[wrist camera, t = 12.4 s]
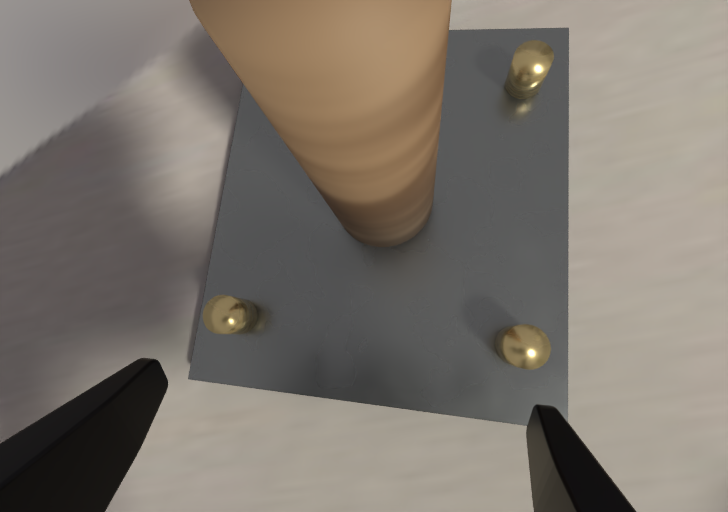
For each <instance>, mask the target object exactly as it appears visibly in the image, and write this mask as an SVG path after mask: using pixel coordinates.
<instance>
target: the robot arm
mask: <svg viewBox="0 0 728 512" xmlns="http://www.w3.org/2000/svg"><path fill="white" fill-rule="evenodd" d="M167 387H168V380H167V377H166V375H165V373H164V371H163V369H162V367H161V365H160V363H159V361H158V360H156V359H149V358H140V359H138V360H136V361H134V362H133V363H131V364H130V365H128V366H126V367H125V368H123V369H121V370H120V371H118V372H116V373H115V374H113V375H112V376H110V377H108V378H107V379H105V380H103V381H102V382H100V383H98V384H97V385H95V386H94V387H92V388H90V389H89V390H87V391H85V392H84V393H82V394H80V395H79V396H77V397H76V398H74V399H72V400H71V401H69V402H67V403H66V404H64V405H63V406H61V407H59V408H58V409H56V410H54V411H53V412H51V413H49V414H48V415H46V416H45V417H43V418H41V419H40V420H38V421H36V422H35V423H33V424H31V425H30V426H28V427H27V428H25V429H23V430H22V431H20V432H18V433H17V434H15V435H13V436H12V437H10V438H9V439H7V440H5V441H4V442H2V443H0V512H105V511H106V509H107V507H108V505H109V504H110V502H111V500H112V498H113V496H114V495H115V493H116V491H117V489H118V488H119V486H120V484H121V482H122V480H123V479H124V477H125V475H126V473H127V472H128V470H129V468H130V466H131V465H132V463H133V461H134V459H135V457H136V456H137V454H138V452H139V450H140V448H141V446H142V444H143V442H144V440H145V438H146V435H147V433H148V431H149V429H150V426H151V424H152V422H153V420H154V418H155V415H156V413H157V411H158V409H159V406H160V404H161V402H162V400H163V397H164V395H165V393H166V391H167ZM526 437H527V448H528V458H529V468H530V478H531V489H532V499H533V508H534V512H636V511H635V509H634V508H633V507H632V505H631V504H630V503H629V501H628V500H627V499H626V498H625V496H624V495H623V494H622V492H621V491H620V490H619V488H618V487H617V486H616V484H615V483H614V482H613V481H612V479H611V478H610V477H609V475H608V474H607V473H606V471H605V470H604V469H603V468H602V466H601V465H600V464H599V462H598V461H597V460H596V458H595V457H594V456H593V455H592V453H591V452H590V451H589V449H588V448H587V447H586V445H585V444H584V443H583V441H582V440H581V439H580V438H579V436H578V435H577V434H576V432H575V431H574V430H573V428H572V427H571V426H570V425H569V423H568V422H567V421H566V419H565V418H564V417H563V415H562V414H561V413H560V412H559V410H558V409H557V408H556V407H554V406H550V405H541V404H536V405H535V406H534V407H533V409H532V412H531V416H530V419H529V422H528V425H527V431H526Z"/></svg>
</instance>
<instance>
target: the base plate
mask: <svg viewBox="0 0 728 512" xmlns="http://www.w3.org/2000/svg"><path fill="white" fill-rule="evenodd" d="M568 148H569V28H533V29H482V30H449V34H448V45H447V55H446V66H445V77H444V88H443V99H442V110H441V121H440V131H439V142H438V153H437V164H436V175H435V186H434V197H433V206H432V211H431V214H430V217H429V219H428V221H427V223H426V224H425V226H424V227H423V228H422V229H421V230H420V232H419V233H418V234H416V235H415V236H414V237H413V238H411V239H410V240H408V241H406V242H404V243H402V244H399V245H396V246H390V247H375V246H370V245H367V244H364V243H362V242H360V241H358V240H356V239H355V238H353V237H352V236H351V235H350V234H349V233H348V232H347V231H346V230H345V229H344V227H343V226H342V224H341V223H340V222H339V220H338V219H337V217H336V216H335V214H334V213H333V211H332V210H331V209H330V207H329V206H328V204H327V203H326V201H325V200H324V199H323V197H322V196H321V194H320V193H319V191H318V190H317V189H316V187H315V186H314V184H313V183H312V181H311V180H310V179H309V177H308V176H307V174H306V173H305V171H304V170H303V169H302V167H301V166H300V164H299V163H298V161H297V160H296V159H295V157H294V156H293V154H292V153H291V151H290V150H289V149H288V147H287V146H286V144H285V143H284V141H283V140H282V138H281V137H280V136H279V134H278V133H277V131H276V130H275V128H274V127H273V126H272V124H271V123H270V121H269V120H268V118H267V117H266V116H265V114H264V113H263V111H262V110H261V108H260V107H259V106H258V104H257V103H256V101H255V100H254V98H253V97H252V96H251V94H250V93H249V91H248V90H247V88H246V87H245V86H244V84H243V87H242V93H241V98H240V104H239V109H238V114H237V120H236V125H235V130H234V136H233V141H232V146H231V152H230V157H229V162H228V168H227V173H226V179H225V184H224V189H223V195H222V200H221V205H220V211H219V216H218V221H217V227H216V232H215V237H214V243H213V248H212V253H211V259H210V264H209V270H208V275H207V280H206V286H205V291H204V296H203V302H202V307H201V312H200V318H199V323H198V328H197V334H196V339H195V345H194V350H193V355H192V361H191V366H190V371H189V377H188V379H191V380H198V381H205V382H212V383H220V384H227V385H234V386H242V387H249V388H256V389H263V390H271V391H278V392H285V393H292V394H300V395H307V396H314V397H322V398H329V399H336V400H343V401H351V402H358V403H365V404H372V405H380V406H387V407H394V408H402V409H409V410H416V411H423V412H431V413H438V414H445V415H452V416H460V417H467V418H474V419H482V420H489V421H496V422H503V423H511V424H518V425H525V426H527V425H528V422H529V419H530V416H531V412H532V409H533V407H534V406H535V405H536V404H541V405H550V406H554V407H556V408H557V409H558V410H559V412H560V413H561V414H562V415H563V417H564V418H565V419H566V421H567V422H568Z"/></svg>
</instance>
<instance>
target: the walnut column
mask: <svg viewBox="0 0 728 512" xmlns="http://www.w3.org/2000/svg"><path fill="white" fill-rule="evenodd" d="M189 1H190V3H191V6H192V8H193V11H194V13H195V14H196V16H197V17H198V19H199V21H200V22H201V24H202V25H203V27H204V28H205V30H206V31H207V33H208V34H209V35H210V37H211V38H212V40H213V41H214V43H215V44H216V45H217V47H218V48H219V50H220V51H221V53H222V54H223V55H224V57H225V58H226V60H227V61H228V63H229V64H230V65H231V67H232V68H233V70H234V71H235V73H236V74H237V75H238V77H239V78H240V80H241V81H242V83H243V84H244V86H245V87H246V88H247V90H248V91H249V93H250V94H251V96H252V97H253V98H254V100H255V101H256V103H257V104H258V106H259V107H260V108H261V110H262V111H263V113H264V114H265V116H266V117H267V118H268V120H269V121H270V123H271V124H272V126H273V127H274V128H275V130H276V131H277V133H278V134H279V136H280V137H281V138H282V140H283V141H284V143H285V144H286V146H287V147H288V149H289V150H290V151H291V153H292V154H293V156H294V157H295V159H296V160H297V161H298V163H299V164H300V166H301V167H302V169H303V170H304V171H305V173H306V174H307V176H308V177H309V179H310V180H311V181H312V183H313V184H314V186H315V187H316V189H317V190H318V191H319V193H320V194H321V196H322V197H323V199H324V200H325V201H326V203H327V204H328V206H329V207H330V209H331V210H332V211H333V213H334V214H335V216H336V217H337V219H338V220H339V222H340V223H341V224H342V226H343V227H344V229H345V230H346V231H347V232H348V233H349V234H350V235H351V236H352V237H353V238H355V239H356V240H358V241H360V242H362V243H364V244H367V245H370V246H375V247H390V246H396V245H399V244H402V243H404V242H406V241H408V240H410V239H411V238H413V237H414V236H415V235H416V234H418V233H419V232H420V230H421V229H422V228H423V227H424V226H425V224H426V223H427V221H428V219H429V217H430V214H431V211H432V206H433V197H434V186H435V175H436V164H437V153H438V142H439V131H440V121H441V110H442V99H443V88H444V77H445V66H446V55H447V45H448V34H449V23H450V12H451V1H452V0H189Z"/></svg>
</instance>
